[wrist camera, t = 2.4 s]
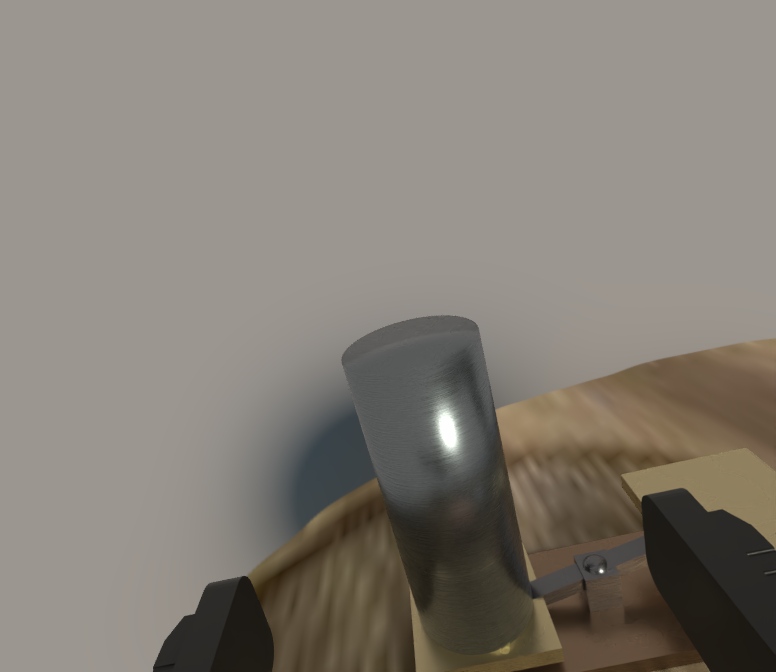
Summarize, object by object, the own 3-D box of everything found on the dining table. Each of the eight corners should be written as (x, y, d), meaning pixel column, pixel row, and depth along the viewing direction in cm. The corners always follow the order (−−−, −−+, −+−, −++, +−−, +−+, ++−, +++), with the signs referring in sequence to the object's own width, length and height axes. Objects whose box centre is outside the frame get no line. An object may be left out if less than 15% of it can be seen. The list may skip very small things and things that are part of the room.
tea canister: (468, 543, 29) (411, 311, 25) (556, 590, 25) (508, 321, 21) (396, 612, 26) (315, 362, 22) (483, 680, 22) (406, 386, 17)
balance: (422, 715, 23) (396, 634, 22) (412, 590, 30) (391, 520, 28) (857, 631, 22) (864, 538, 21) (746, 520, 29) (746, 443, 27)
